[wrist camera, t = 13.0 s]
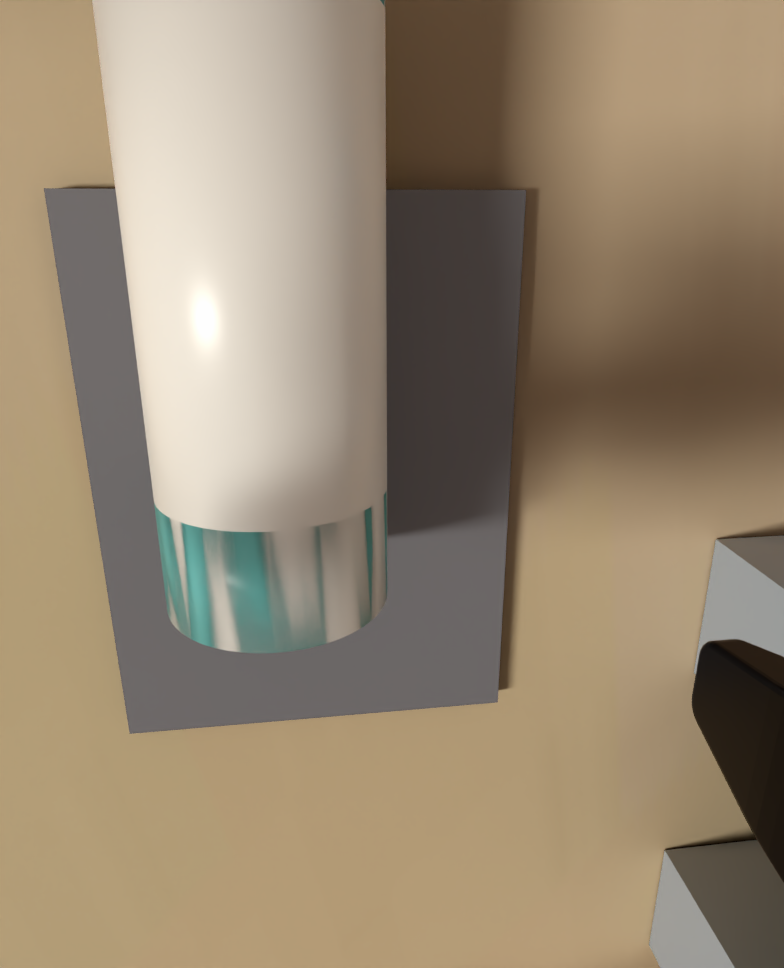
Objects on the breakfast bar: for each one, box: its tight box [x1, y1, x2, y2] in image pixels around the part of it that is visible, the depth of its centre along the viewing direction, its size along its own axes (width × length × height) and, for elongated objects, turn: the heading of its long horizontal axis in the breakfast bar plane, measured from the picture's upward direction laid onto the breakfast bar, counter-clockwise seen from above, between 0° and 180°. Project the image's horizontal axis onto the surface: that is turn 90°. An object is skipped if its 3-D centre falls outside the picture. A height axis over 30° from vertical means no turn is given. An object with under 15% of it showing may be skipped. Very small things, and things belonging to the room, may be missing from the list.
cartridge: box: [92, 0, 387, 653], centre depth 12 cm, size 4×11×4 cm, turn 0°
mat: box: [44, 188, 526, 734], centre depth 15 cm, size 12×9×1 cm
